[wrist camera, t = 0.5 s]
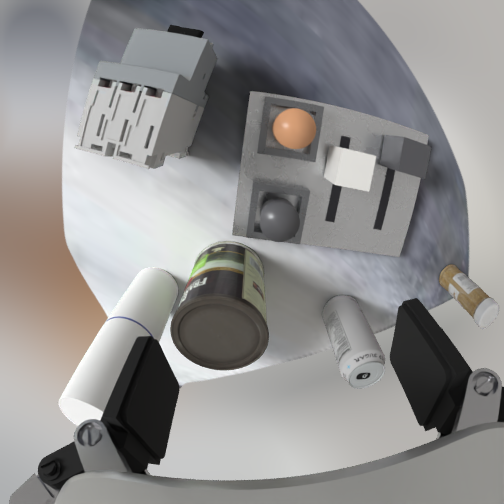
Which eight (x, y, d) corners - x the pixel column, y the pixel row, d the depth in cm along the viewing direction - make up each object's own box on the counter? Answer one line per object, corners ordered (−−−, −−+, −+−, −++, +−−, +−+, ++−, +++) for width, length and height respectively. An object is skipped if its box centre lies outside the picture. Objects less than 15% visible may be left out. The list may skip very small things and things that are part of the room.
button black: (262, 195, 32) (263, 201, 29) (298, 200, 32) (303, 207, 29) (257, 229, 33) (257, 239, 31) (292, 234, 34) (295, 244, 31)
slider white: (329, 145, 31) (341, 147, 26) (359, 151, 31) (376, 156, 27) (323, 177, 33) (335, 184, 28) (354, 183, 33) (369, 191, 28)
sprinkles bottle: (434, 284, 42) (475, 329, 30) (444, 261, 40) (489, 303, 28) (450, 287, 43) (490, 329, 30) (460, 265, 41) (504, 304, 28)
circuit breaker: (225, 54, 29) (208, 8, 15) (187, 155, 34) (147, 172, 21) (172, 42, 28) (127, -1, 14) (136, 140, 33) (73, 151, 20)
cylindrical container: (187, 286, 42) (137, 430, 19) (163, 314, 44) (112, 446, 21) (148, 258, 40) (65, 387, 17) (128, 288, 42) (53, 411, 20)
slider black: (385, 134, 30) (404, 136, 26) (410, 143, 30) (431, 146, 26) (379, 165, 32) (397, 171, 27) (405, 172, 32) (425, 179, 27)
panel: (250, 93, 31) (250, 88, 27) (419, 134, 32) (436, 136, 28) (233, 228, 38) (231, 240, 34) (392, 250, 40) (405, 262, 35)
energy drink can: (351, 322, 45) (379, 389, 31) (317, 322, 45) (337, 393, 31) (360, 292, 43) (396, 357, 29) (325, 291, 42) (352, 360, 29)
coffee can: (181, 282, 42) (155, 344, 29) (216, 227, 38) (198, 278, 25) (239, 314, 44) (235, 382, 31) (278, 265, 41) (289, 327, 28)
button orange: (274, 107, 28) (277, 105, 25) (312, 114, 28) (318, 112, 25) (269, 144, 29) (271, 145, 27) (307, 150, 30) (312, 152, 27)
